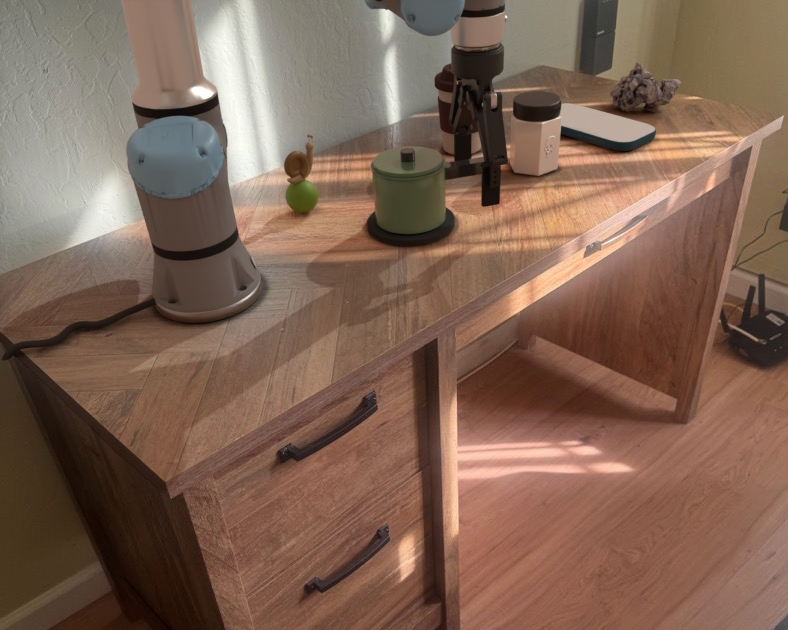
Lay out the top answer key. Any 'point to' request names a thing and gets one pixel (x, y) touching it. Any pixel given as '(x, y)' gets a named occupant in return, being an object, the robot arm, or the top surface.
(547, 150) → the jar
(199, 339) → the top surface
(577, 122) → the external hard drive
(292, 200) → the snail figurine
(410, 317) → the top surface
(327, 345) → the top surface
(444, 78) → the coffee cup
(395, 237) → the trivet
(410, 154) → the pot
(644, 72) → the mineral specimen
